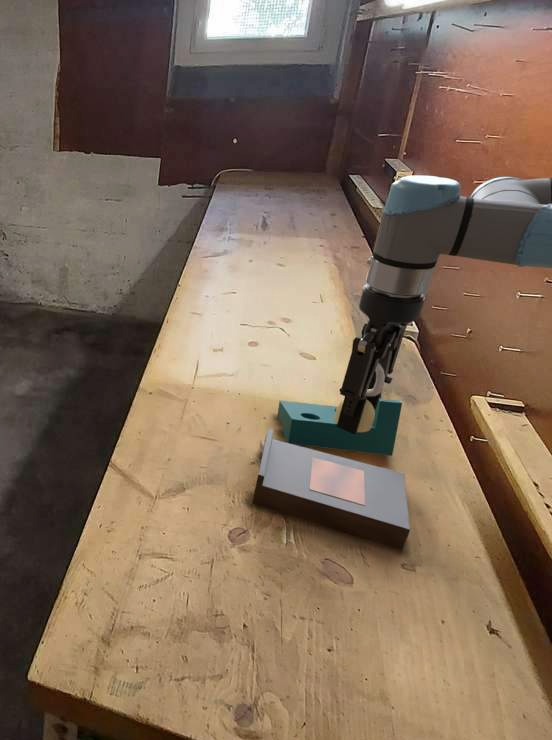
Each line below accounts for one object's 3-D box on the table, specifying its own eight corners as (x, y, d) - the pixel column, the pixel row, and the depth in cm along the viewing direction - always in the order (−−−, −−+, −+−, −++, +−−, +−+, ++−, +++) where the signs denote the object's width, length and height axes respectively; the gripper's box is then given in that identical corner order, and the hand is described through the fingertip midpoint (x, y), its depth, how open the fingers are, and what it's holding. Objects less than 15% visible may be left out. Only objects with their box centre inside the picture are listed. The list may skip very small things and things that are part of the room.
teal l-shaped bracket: (370, 433, 115) (379, 385, 113) (392, 455, 105) (402, 403, 103) (276, 422, 119) (283, 376, 117) (288, 443, 109) (295, 392, 107)
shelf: (396, 493, 98) (407, 464, 95) (402, 550, 87) (414, 520, 84) (262, 456, 108) (268, 428, 105) (251, 503, 97) (258, 474, 94)
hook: (327, 413, 92) (344, 350, 87) (357, 411, 92) (376, 348, 87) (350, 436, 87) (369, 370, 81) (382, 434, 87) (404, 368, 82)
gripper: (392, 266, 87) (356, 391, 97) (336, 297, 77) (303, 433, 87) (449, 279, 82) (404, 410, 92) (397, 315, 72) (353, 458, 82)
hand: (355, 421), depth 90 cm, fingers closed on hook, 5 cm apart
